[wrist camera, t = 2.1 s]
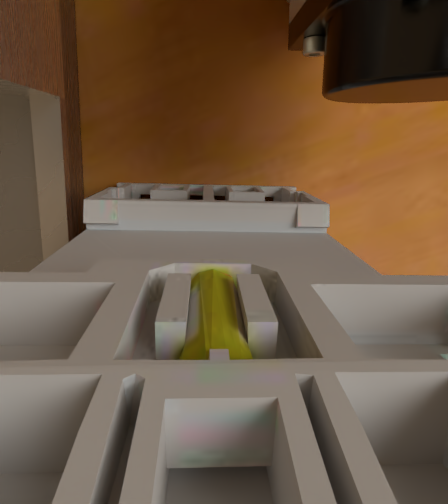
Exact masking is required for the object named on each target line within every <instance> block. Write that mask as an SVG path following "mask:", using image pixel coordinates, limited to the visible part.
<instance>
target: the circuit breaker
mask: <svg viewBox="0 0 448 504" xmlns="http://www.w3.org/2000/svg"><path fill="white" fill-rule="evenodd" d="M141 194H150V198H151V199H141ZM190 195H203V200H190ZM214 196H225V200H214ZM265 197H273V201H265ZM83 223H85V224H86V230H85V231H83V232H82V233H81V234H79V235H78V236H77V237H75V238H74V239H73V240H71V241H70V242H69V243H67V244H66V245H64V246H63V247H62V248H60V249H59V250H58V251H56V252H55V253H54V254H52V255H51V256H50V257H48V258H47V259H46V260H44V261H43V262H42V263H40V264H39V265H37V266H36V267H35V268H33V269H32V270H31V271H29V272H0V504H448V276H417V275H381V274H380V273H378V272H377V271H376V270H375V269H373V268H372V267H371V266H369V265H368V264H367V263H365V262H364V261H363V260H361V259H360V258H359V257H357V256H356V255H355V254H353V253H352V252H351V251H349V250H348V249H347V248H345V247H344V246H343V245H341V244H340V243H339V242H337V241H336V240H335V239H333V238H332V237H331V236H329V235H328V234H327V233H326V230H327V228H328V227H329V204H328V203H326V202H324V201H322V200H320V199H318V198H316V197H314V196H312V195H310V194H308V193H306V192H304V191H296V187H290V186H246V185H202V184H158V183H117V187H109V188H107V189H105V190H103V191H100V192H98V193H96V194H94V195H92V196H90V197H88V198H86V199H84V210H83Z"/></svg>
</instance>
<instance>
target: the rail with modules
mask: <svg viewBox="0 0 448 504" xmlns="http://www.w3.org/2000/svg"><path fill="white" fill-rule="evenodd" d="M83 210H84V191H83V170H82V149H81V128H80V107H79V86H78V65H77V44H76V23H75V2H74V0H0V272H29V271H31V270H32V269H33V268H35V267H36V266H37V265H39V264H40V263H42V262H43V261H44V260H46V259H47V258H48V257H50V256H51V255H52V254H54V253H55V252H56V251H58V250H59V249H60V248H62V247H63V246H64V245H66V244H67V243H69V242H70V241H71V240H73V239H74V238H75V237H77V236H78V235H79V234H81V233H82V232H83V231H85V223H83Z"/></svg>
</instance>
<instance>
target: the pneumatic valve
mask: <svg viewBox="0 0 448 504" xmlns="http://www.w3.org/2000/svg"><path fill="white" fill-rule="evenodd" d="M286 1H287V2H288V3H290V8H289V38H288V50H291V51H293V50H303V55H304V56H307V57H317V56H322V55H324V68H323V85H322V95H323V97H324V98H326V99H328V100H331V101H337V102H346V103H412V102H432V101H448V0H286Z"/></svg>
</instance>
